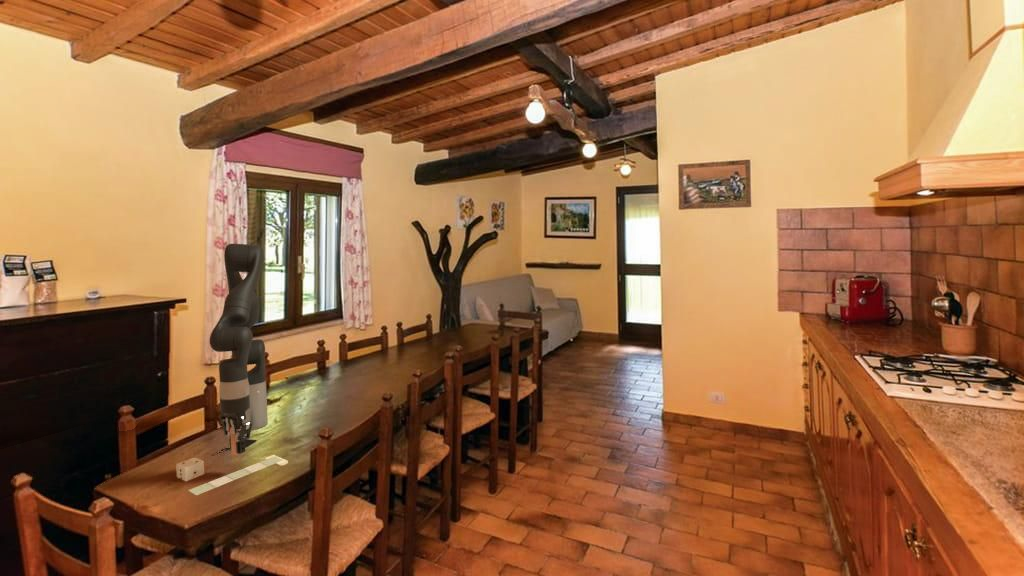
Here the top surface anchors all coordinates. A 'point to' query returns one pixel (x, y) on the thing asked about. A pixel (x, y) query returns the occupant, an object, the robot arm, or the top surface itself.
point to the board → (238, 474)
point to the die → (190, 469)
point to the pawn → (234, 443)
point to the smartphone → (247, 444)
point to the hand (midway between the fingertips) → (237, 451)
